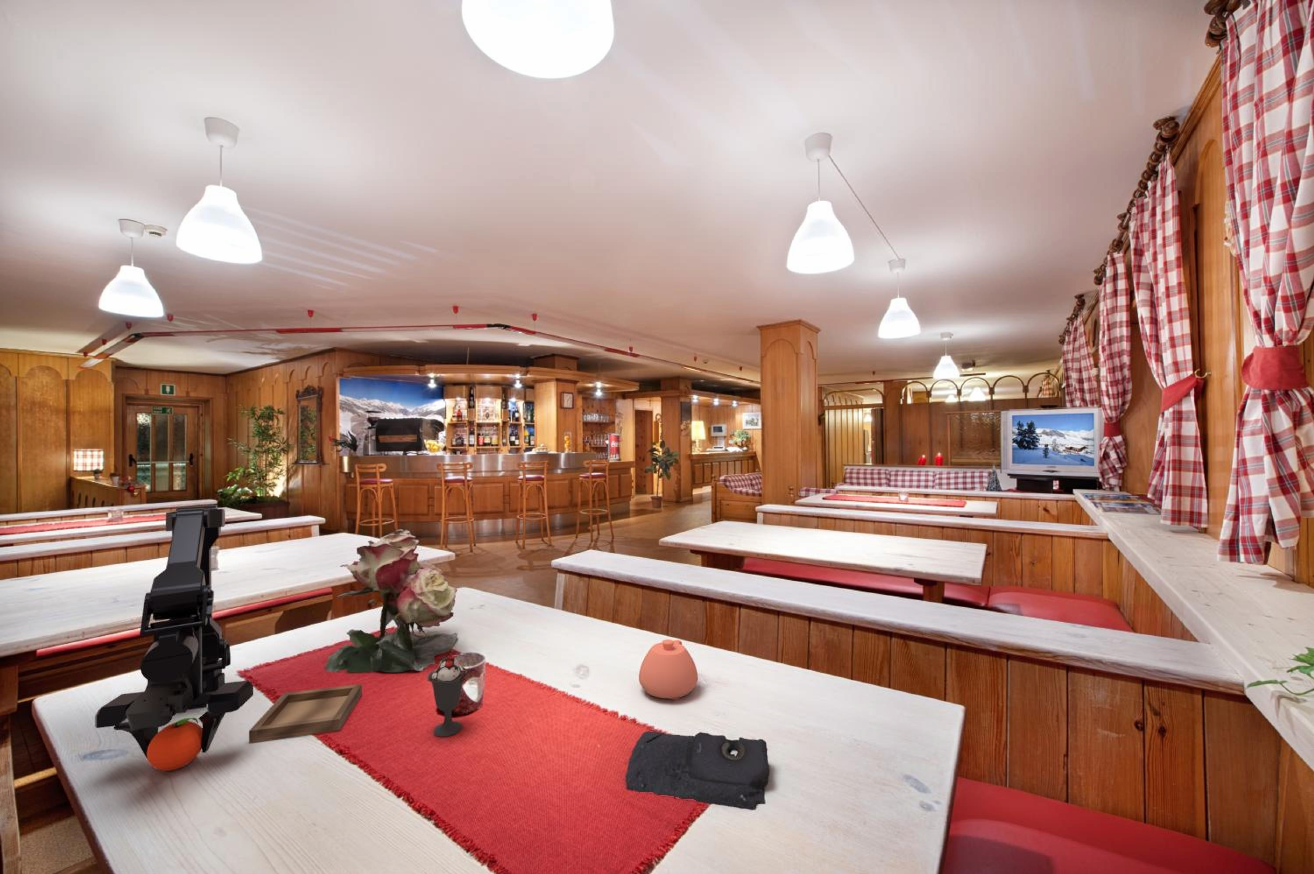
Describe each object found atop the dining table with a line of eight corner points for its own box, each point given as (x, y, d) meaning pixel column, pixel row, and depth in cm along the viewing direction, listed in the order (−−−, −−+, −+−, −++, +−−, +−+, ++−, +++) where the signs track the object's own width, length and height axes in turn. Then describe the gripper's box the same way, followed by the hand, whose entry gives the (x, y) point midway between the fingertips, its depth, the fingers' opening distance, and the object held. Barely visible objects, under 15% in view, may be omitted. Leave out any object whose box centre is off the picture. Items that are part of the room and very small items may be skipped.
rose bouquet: (441, 674, 117) (440, 540, 117) (312, 674, 117) (311, 541, 118) (481, 631, 143) (480, 522, 143) (375, 632, 143) (374, 522, 143)
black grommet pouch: (643, 736, 92) (643, 709, 92) (770, 752, 88) (769, 723, 88) (617, 794, 78) (617, 761, 78) (769, 816, 73) (768, 782, 73)
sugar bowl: (629, 698, 105) (628, 647, 105) (655, 669, 118) (655, 624, 118) (686, 709, 101) (686, 656, 101) (707, 678, 114) (707, 631, 114)
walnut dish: (249, 742, 91) (249, 730, 91) (283, 703, 104) (283, 693, 104) (339, 730, 94) (339, 718, 94) (361, 694, 108) (361, 684, 108)
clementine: (175, 751, 88) (175, 709, 88) (220, 748, 89) (220, 706, 89) (134, 782, 80) (133, 736, 80) (183, 778, 81) (182, 733, 81)
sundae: (454, 741, 90) (453, 655, 91) (420, 737, 92) (419, 652, 92) (475, 721, 97) (474, 640, 97) (442, 717, 98) (442, 638, 98)
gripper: (64, 689, 75) (64, 798, 75) (219, 673, 79) (219, 776, 79) (121, 657, 85) (121, 753, 85) (254, 645, 90) (254, 736, 90)
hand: (178, 755), depth 85 cm, fingers closed on clementine, 7 cm apart
